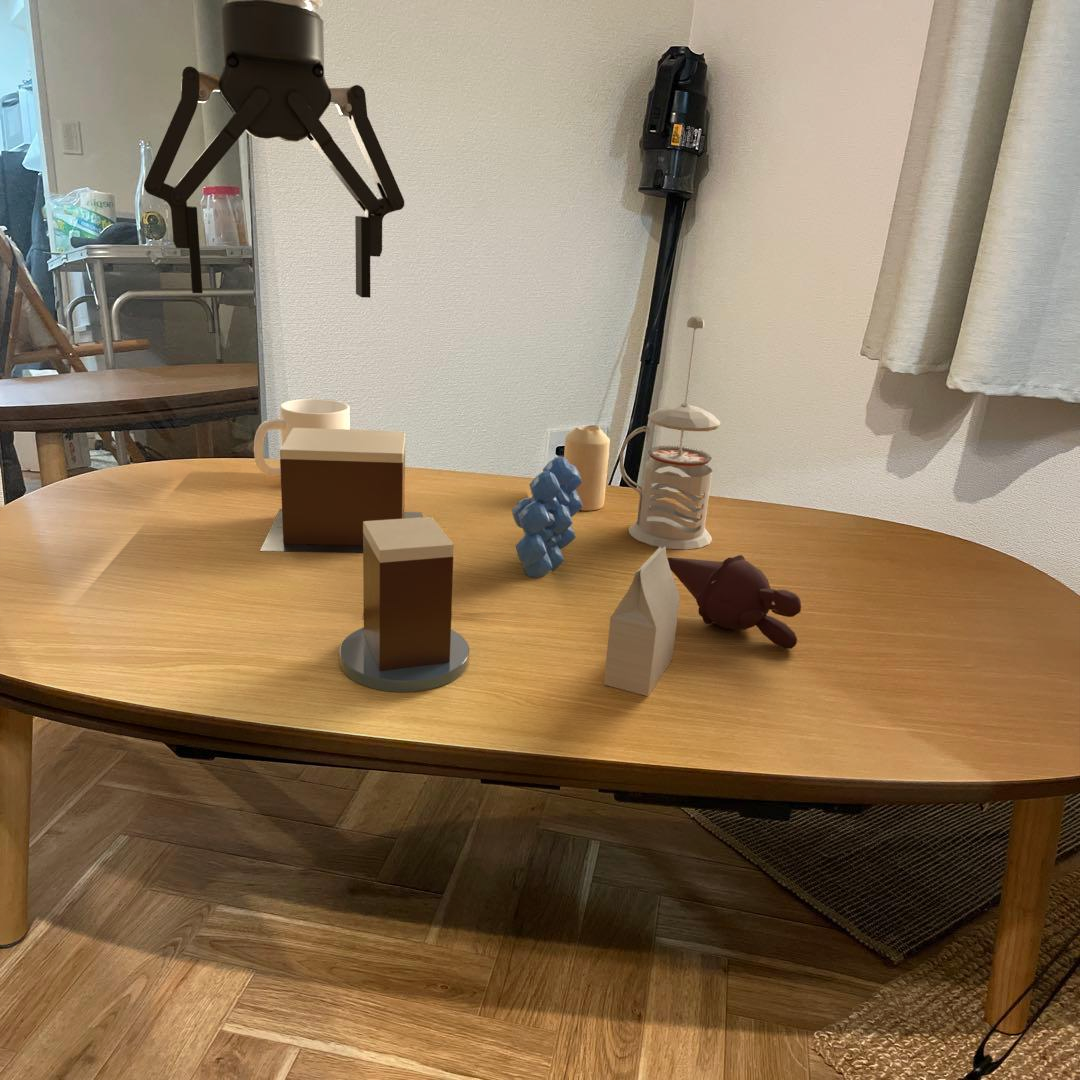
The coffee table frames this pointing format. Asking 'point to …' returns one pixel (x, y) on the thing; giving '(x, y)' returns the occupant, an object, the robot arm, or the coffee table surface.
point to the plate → (366, 672)
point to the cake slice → (407, 592)
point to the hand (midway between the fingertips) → (282, 294)
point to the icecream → (738, 596)
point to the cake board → (276, 544)
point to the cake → (340, 483)
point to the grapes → (548, 517)
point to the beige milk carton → (643, 628)
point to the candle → (589, 463)
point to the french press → (675, 478)
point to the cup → (301, 423)
